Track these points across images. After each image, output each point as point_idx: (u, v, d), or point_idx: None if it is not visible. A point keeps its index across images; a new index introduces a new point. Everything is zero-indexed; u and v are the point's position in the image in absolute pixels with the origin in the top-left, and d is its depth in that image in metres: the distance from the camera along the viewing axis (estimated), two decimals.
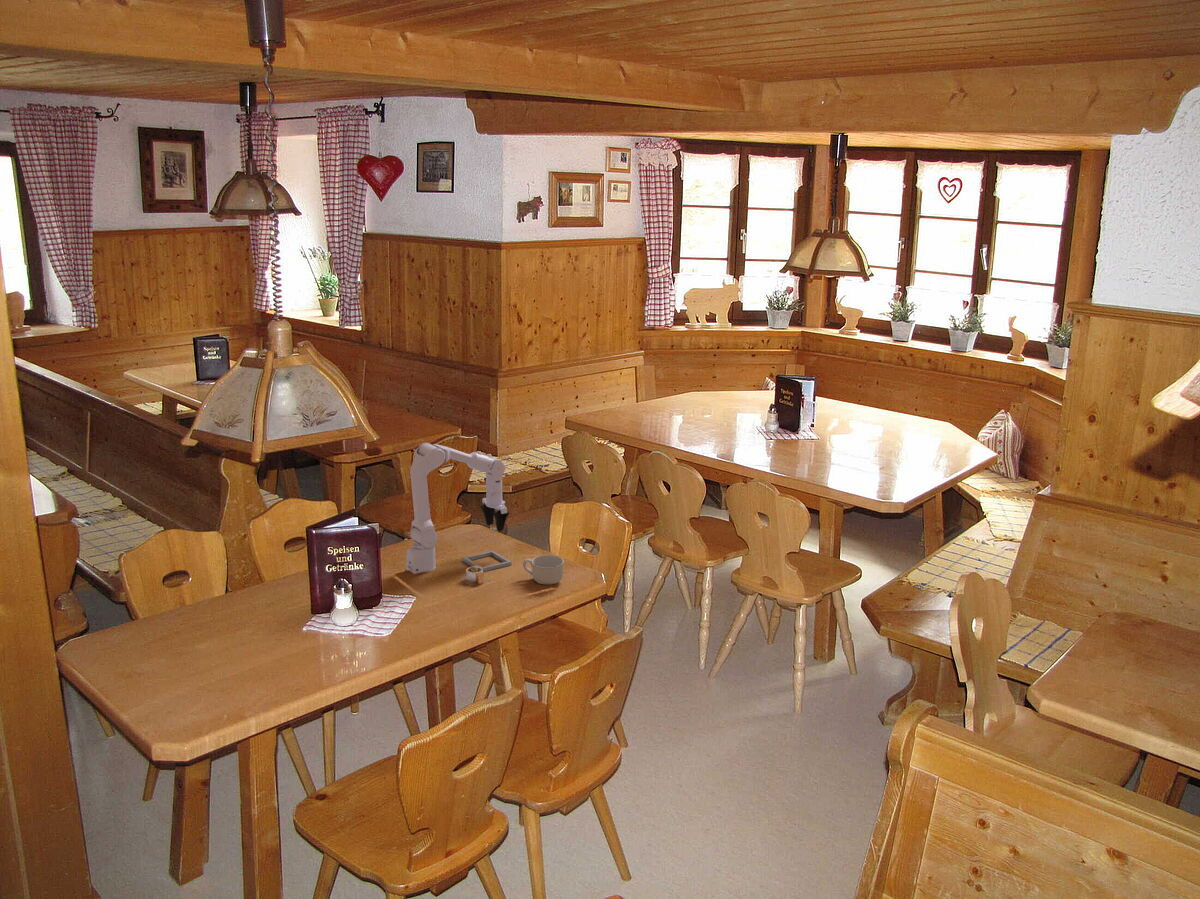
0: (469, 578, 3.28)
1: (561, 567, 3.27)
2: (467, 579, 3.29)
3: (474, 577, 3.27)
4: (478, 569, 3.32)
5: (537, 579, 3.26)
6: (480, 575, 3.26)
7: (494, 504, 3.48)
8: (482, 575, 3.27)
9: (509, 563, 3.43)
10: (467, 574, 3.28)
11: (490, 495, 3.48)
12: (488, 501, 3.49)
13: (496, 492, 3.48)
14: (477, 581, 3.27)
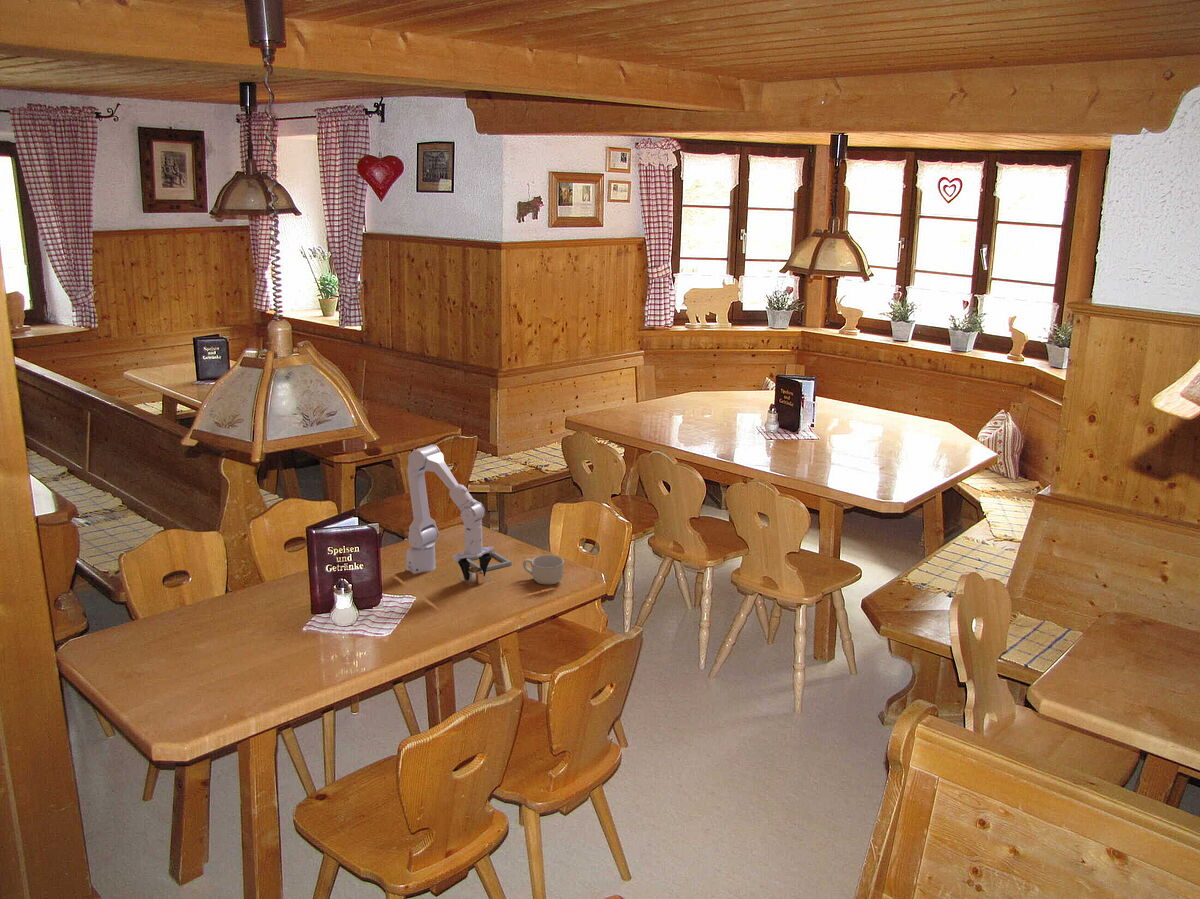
0: (469, 578, 3.28)
1: (561, 567, 3.27)
2: None
3: (474, 577, 3.27)
4: (478, 569, 3.32)
5: (537, 579, 3.26)
6: (480, 575, 3.26)
7: (465, 550, 3.28)
8: (482, 575, 3.27)
9: (509, 563, 3.43)
10: None
11: None
12: None
13: (467, 540, 3.25)
14: (477, 581, 3.27)
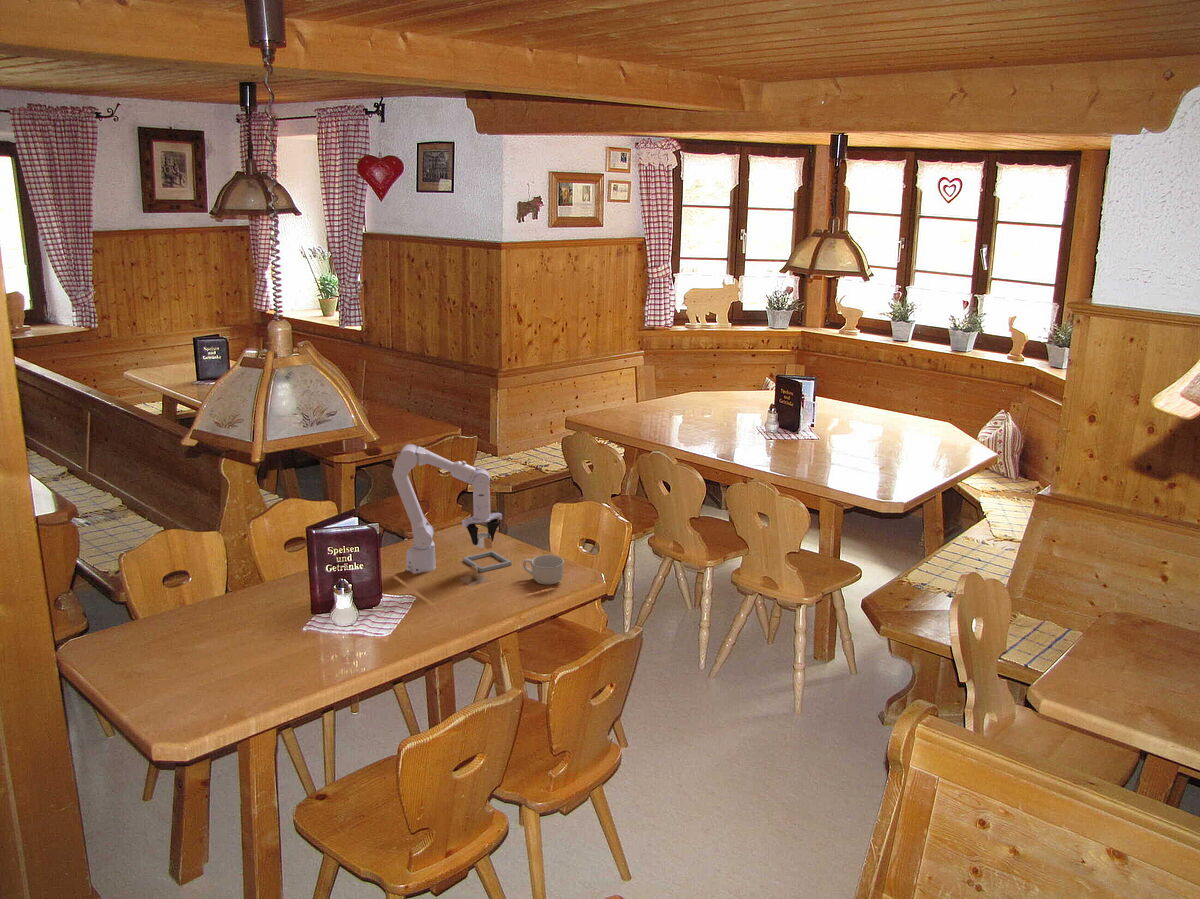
0: (477, 543, 3.37)
1: (561, 567, 3.27)
2: None
3: (482, 542, 3.37)
4: (486, 535, 3.41)
5: (537, 579, 3.26)
6: (488, 540, 3.36)
7: (473, 516, 3.37)
8: (490, 540, 3.36)
9: (509, 563, 3.43)
10: None
11: None
12: None
13: (479, 506, 3.34)
14: (485, 546, 3.36)
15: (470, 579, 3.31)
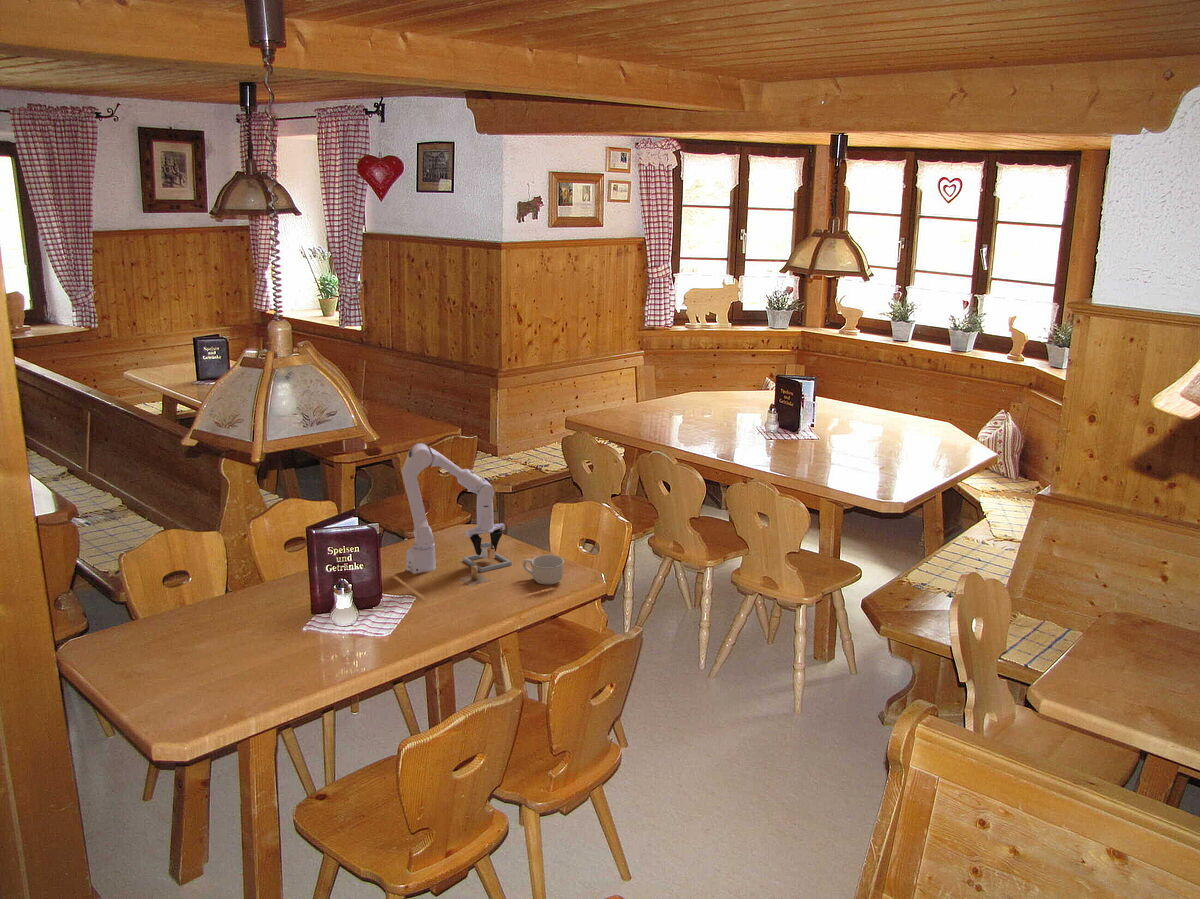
0: None
1: (561, 567, 3.27)
2: None
3: (486, 552, 3.42)
4: (489, 545, 3.46)
5: (537, 579, 3.26)
6: (491, 550, 3.41)
7: (477, 526, 3.42)
8: (493, 550, 3.41)
9: (509, 563, 3.43)
10: None
11: None
12: None
13: (484, 517, 3.39)
14: (489, 556, 3.42)
15: (470, 579, 3.31)
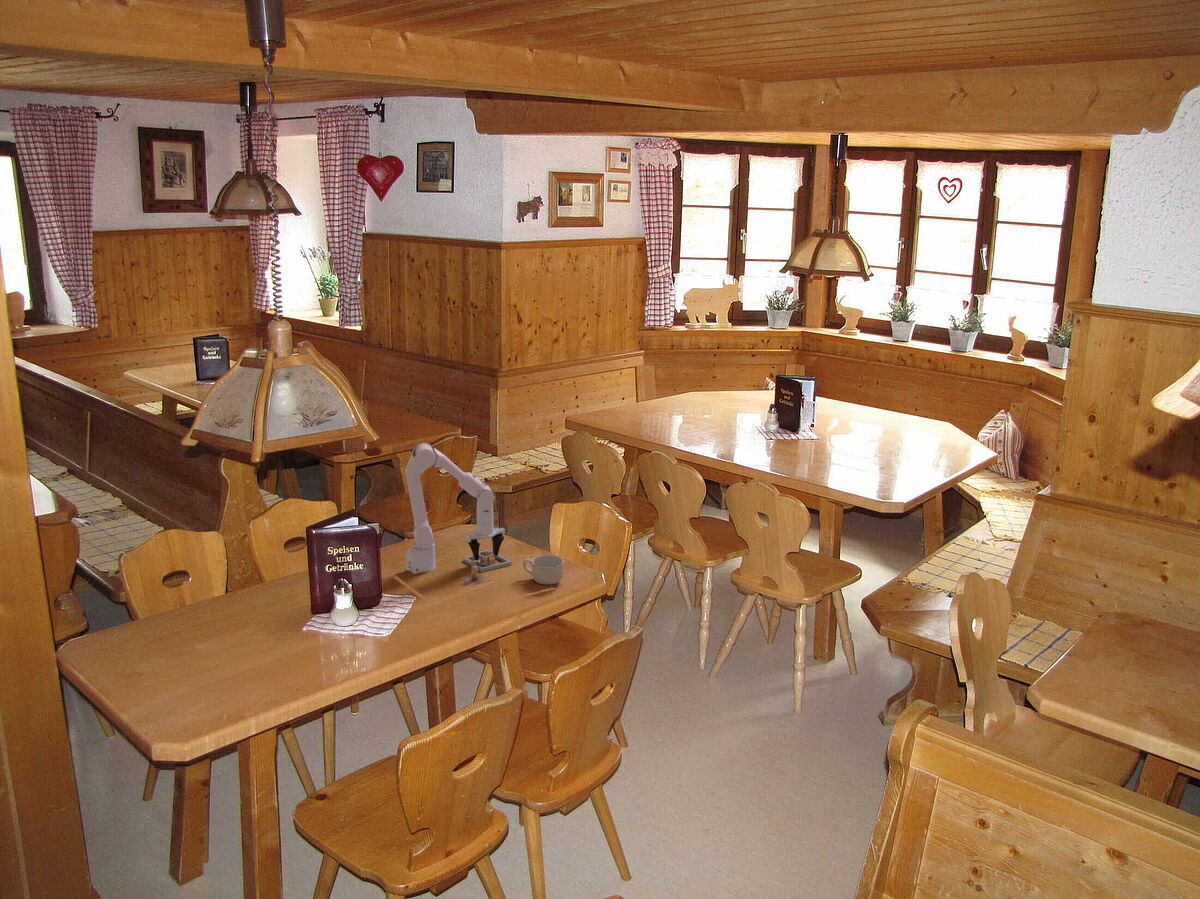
0: (480, 562, 3.44)
1: (561, 567, 3.27)
2: (479, 562, 3.44)
3: (486, 560, 3.43)
4: (489, 553, 3.47)
5: (537, 579, 3.26)
6: (491, 558, 3.42)
7: (477, 531, 3.43)
8: (493, 558, 3.42)
9: (509, 563, 3.43)
10: (479, 558, 3.44)
11: None
12: None
13: (484, 522, 3.39)
14: (489, 564, 3.42)
15: (470, 579, 3.31)
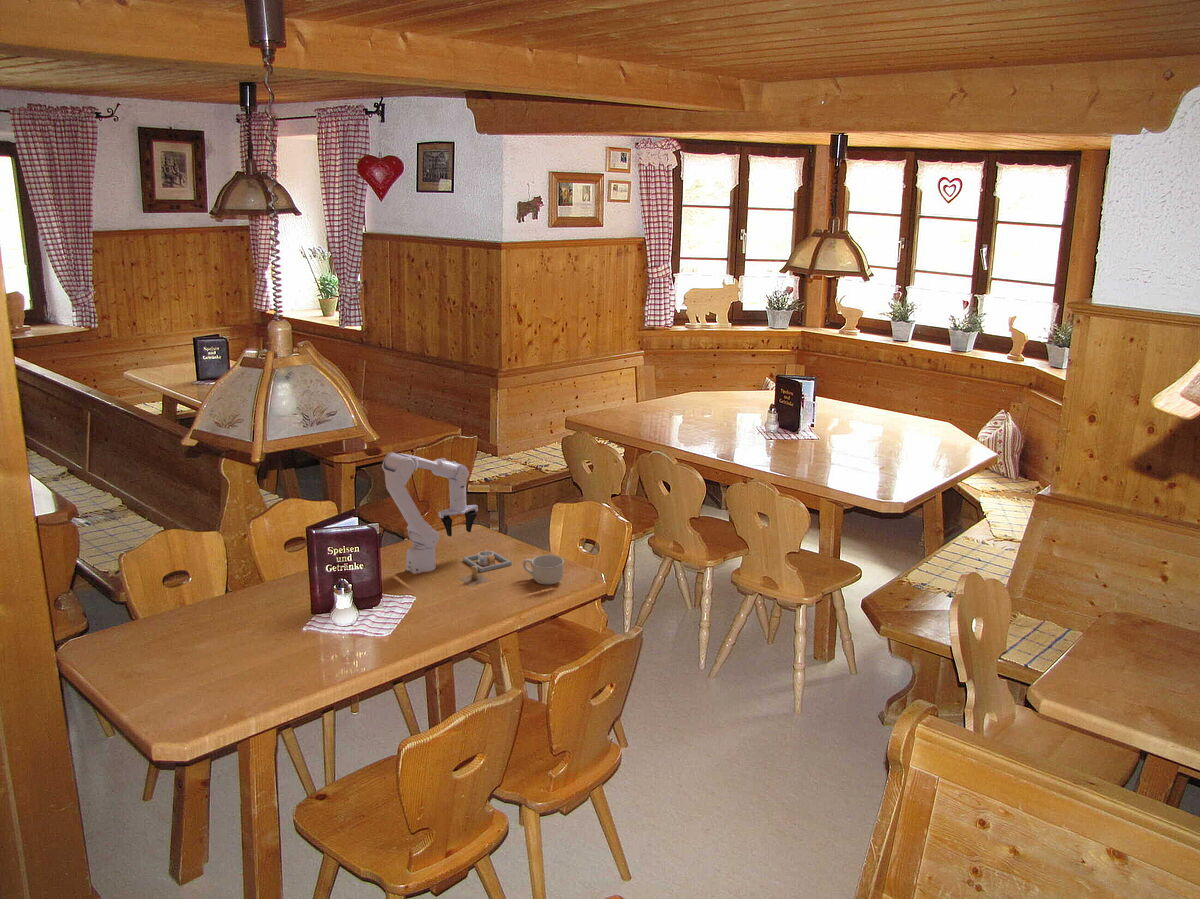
0: (480, 562, 3.44)
1: (561, 567, 3.27)
2: (479, 562, 3.44)
3: (486, 560, 3.43)
4: (489, 553, 3.47)
5: (537, 579, 3.26)
6: (491, 558, 3.42)
7: (450, 508, 3.46)
8: (493, 558, 3.42)
9: (509, 563, 3.43)
10: (479, 558, 3.44)
11: None
12: None
13: (461, 497, 3.43)
14: (489, 564, 3.42)
15: (470, 579, 3.31)
